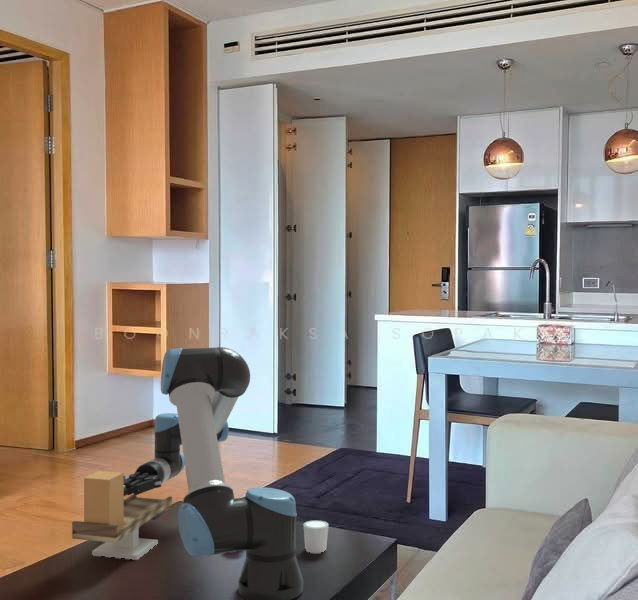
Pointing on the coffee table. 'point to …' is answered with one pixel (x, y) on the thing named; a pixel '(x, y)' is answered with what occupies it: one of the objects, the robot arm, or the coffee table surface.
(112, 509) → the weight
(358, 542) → the coffee table surface
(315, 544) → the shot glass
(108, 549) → the pivot stand
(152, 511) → the beam
